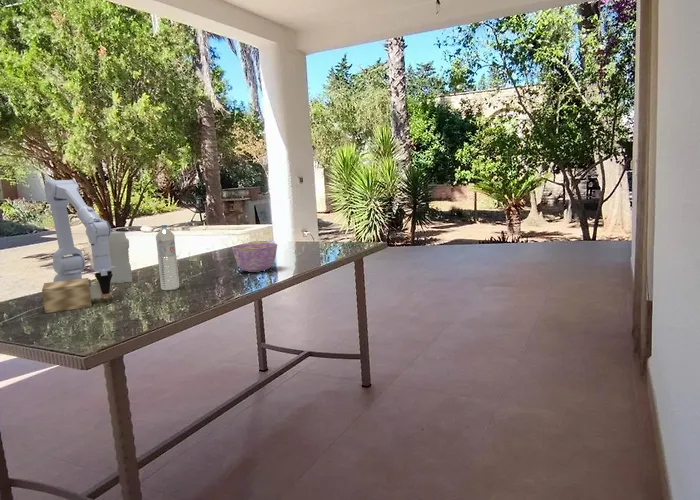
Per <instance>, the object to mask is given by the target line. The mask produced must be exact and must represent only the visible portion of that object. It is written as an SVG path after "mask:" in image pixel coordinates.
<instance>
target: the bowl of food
mask: <svg viewBox="0 0 700 500" xmlns="http://www.w3.org/2000/svg"><path fill="white" fill-rule="evenodd" d="M231 250H232V252H233V256H234V259H235V261H236V264H237V266H238V268H239V269H241V270H242V271H244V272H245V271H246V272H247V271H248V272H260V271H264V270H266V271H267V270H268V269H270V268H271V267H272V266H273V265H274V264H275V261H276V255H277V250H278V244H277V243H275V242H257V243H246V244H239V245H235V246H232V247H231ZM248 272H247V273H248ZM264 272H265V271H264ZM260 273H261V272H260Z"/></svg>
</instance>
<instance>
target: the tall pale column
mask: <svg viewBox="0 0 700 500" xmlns="http://www.w3.org/2000/svg"><path fill="white" fill-rule="evenodd" d="M129 240H130V239H128V238H127V236H126V233H125V232H123V231H111V234H110V236H108V241H109V249H110V258H111V266H115V268H114V269H111V270H109V271H112V273H111V274H113V276H112V278H111V282H110V284H125V283H124V282H128V283H133V275H132V273H133V272H132V267H131V263H130V256H129V255H130V254H129V252H130V250H129V248H130V241H129Z"/></svg>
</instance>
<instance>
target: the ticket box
mask: <svg viewBox="0 0 700 500" xmlns="http://www.w3.org/2000/svg"><path fill="white" fill-rule="evenodd" d="M91 284H92V282H91V279H89V277H86V278H85V277H84V278H82V279H75V280H67V281H58V282H53V281H51V282H44V283H43V285H42V288H41V292H42V293H41V294H42V300H43V307H44V314H48V313H55V312H62V311H63V312H64V311H69V310H77V309H83V308H91V307H93V305H92V299H91V296H90V288H89V287H91Z"/></svg>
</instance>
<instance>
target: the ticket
mask: <svg viewBox="0 0 700 500" xmlns="http://www.w3.org/2000/svg"><path fill="white" fill-rule="evenodd" d="M89 288H90V296H91V300H93V299H100V298H109V297H111V291H110V292H109V294H103V293H102V291H101V287H100V284H99V282H98V283H91V287H89Z"/></svg>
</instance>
